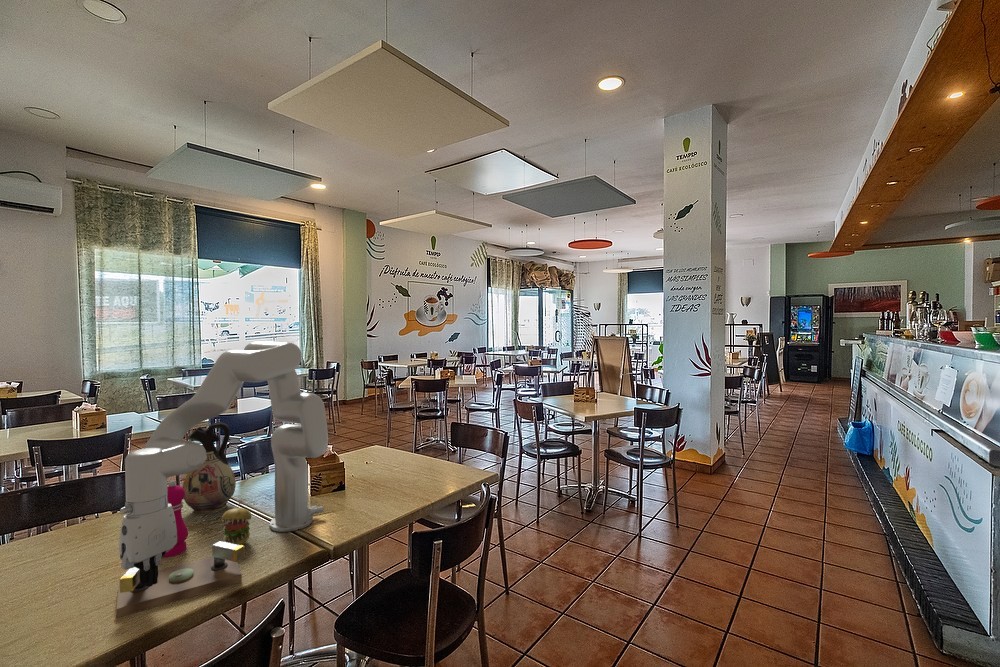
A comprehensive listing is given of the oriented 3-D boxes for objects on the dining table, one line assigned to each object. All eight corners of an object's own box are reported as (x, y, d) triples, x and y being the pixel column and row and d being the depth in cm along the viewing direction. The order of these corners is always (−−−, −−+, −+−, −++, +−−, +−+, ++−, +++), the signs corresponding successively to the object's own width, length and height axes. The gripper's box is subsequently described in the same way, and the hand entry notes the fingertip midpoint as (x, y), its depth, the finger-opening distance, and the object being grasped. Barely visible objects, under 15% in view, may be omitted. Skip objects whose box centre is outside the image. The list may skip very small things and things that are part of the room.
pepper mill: (172, 559, 127) (171, 486, 126) (150, 556, 129) (149, 484, 128) (194, 546, 134) (194, 477, 134) (173, 544, 136) (172, 475, 135)
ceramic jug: (176, 522, 150) (175, 428, 149) (188, 504, 164) (187, 419, 163) (237, 515, 156) (236, 424, 155) (244, 498, 170) (243, 415, 169)
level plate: (233, 558, 128) (233, 547, 128) (241, 582, 117) (241, 570, 117) (119, 588, 114) (119, 575, 113) (116, 618, 102) (116, 604, 102)
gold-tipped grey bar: (211, 566, 119) (211, 544, 119) (219, 561, 121) (219, 540, 121) (236, 572, 116) (236, 550, 116) (244, 567, 119) (244, 545, 119)
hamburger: (216, 550, 132) (216, 508, 132) (227, 538, 139) (227, 498, 139) (246, 548, 133) (246, 506, 133) (255, 537, 140) (255, 497, 140)
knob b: (136, 583, 111) (135, 560, 111) (148, 582, 112) (147, 559, 112) (119, 604, 103) (119, 579, 103) (132, 602, 104) (132, 577, 104)
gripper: (121, 520, 98) (123, 606, 99) (191, 495, 112) (192, 570, 113) (98, 514, 101) (101, 598, 102) (169, 490, 115) (171, 564, 116)
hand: (149, 583), depth 107 cm, fingers closed
